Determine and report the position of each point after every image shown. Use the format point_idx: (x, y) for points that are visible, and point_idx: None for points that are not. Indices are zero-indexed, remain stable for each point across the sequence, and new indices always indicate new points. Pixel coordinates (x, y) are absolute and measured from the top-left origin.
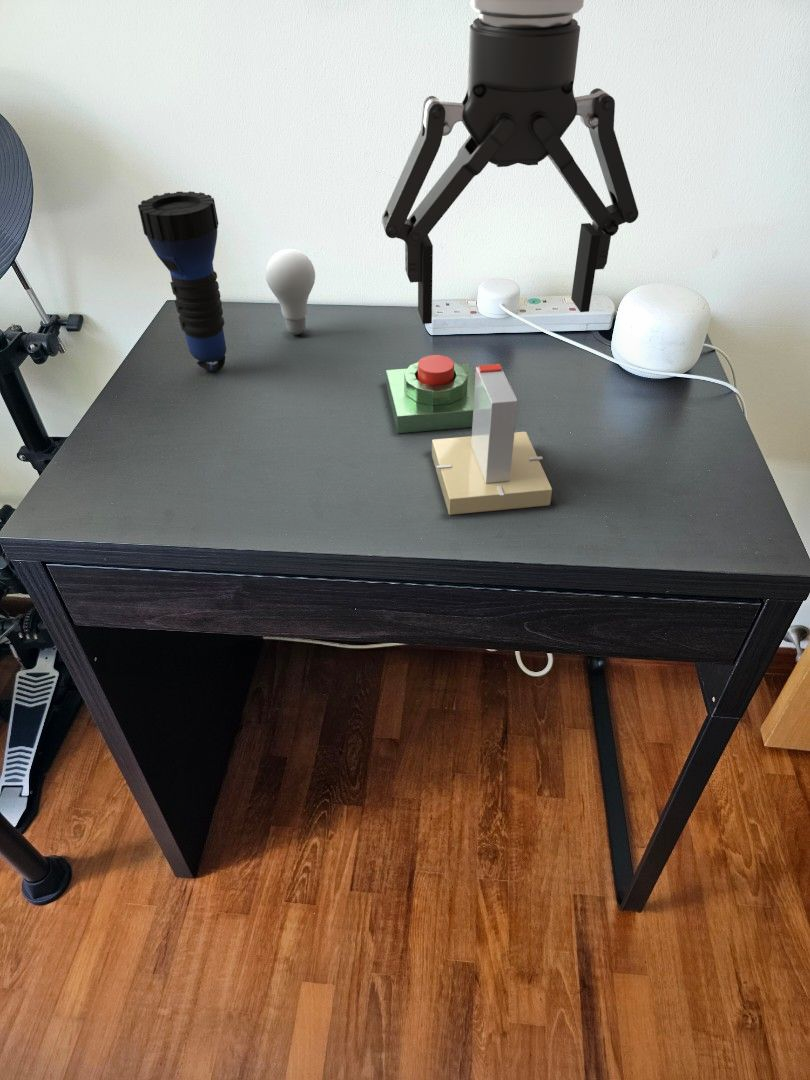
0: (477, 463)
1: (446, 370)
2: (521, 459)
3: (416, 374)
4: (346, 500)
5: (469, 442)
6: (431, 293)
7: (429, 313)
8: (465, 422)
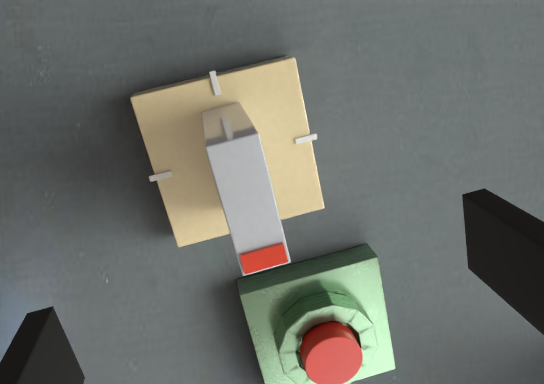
0: None
1: (317, 346)
2: (183, 171)
3: None
4: (435, 78)
5: None
6: (516, 226)
7: (484, 201)
8: (271, 275)
